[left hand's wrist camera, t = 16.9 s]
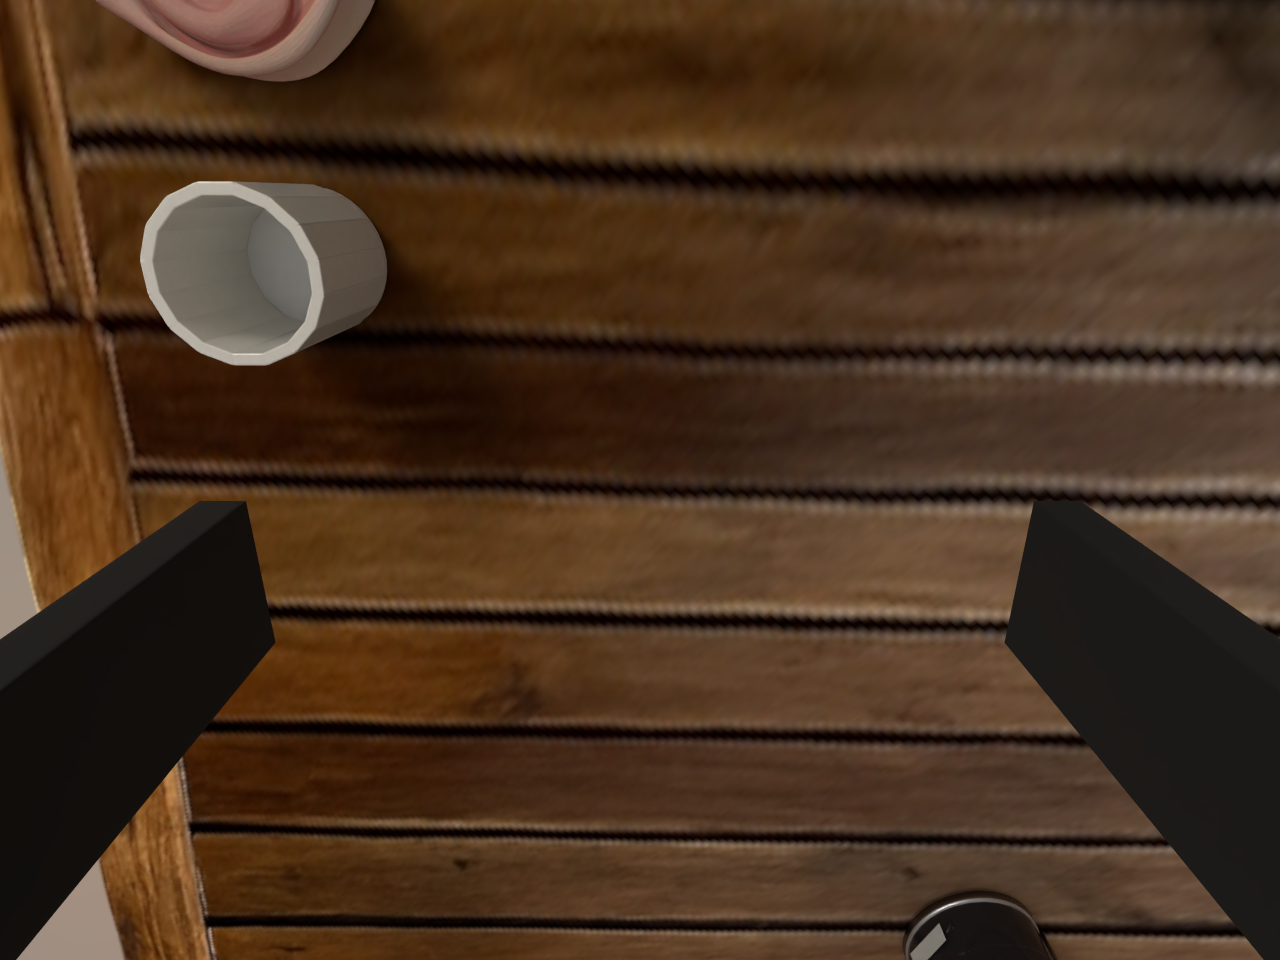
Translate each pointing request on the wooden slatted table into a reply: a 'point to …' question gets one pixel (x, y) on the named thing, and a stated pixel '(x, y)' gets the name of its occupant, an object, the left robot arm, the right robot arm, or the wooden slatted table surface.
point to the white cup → (261, 267)
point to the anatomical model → (250, 32)
